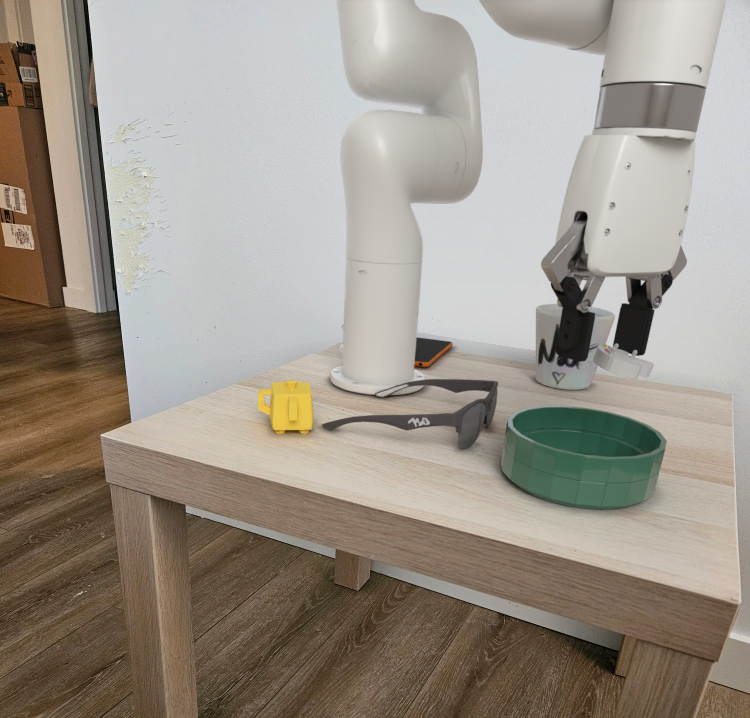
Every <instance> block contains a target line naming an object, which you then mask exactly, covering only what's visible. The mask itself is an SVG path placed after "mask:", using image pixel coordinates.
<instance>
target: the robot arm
mask: <svg viewBox="0 0 750 718" xmlns="http://www.w3.org/2000/svg"><path fill="white" fill-rule="evenodd" d="M478 1H479V3H480V5H481V6H482V7H483V9H484V10H485V12H486V13H487V15H488V16H489V17H490V19H491V20H492V21H493V22H494V23H495V24H496V25H497V26H498V27H499V28H500V29H502V30H503V31H504V32H506V33H507V34H509V35H511V36H512V37H515V38H516V39H521V40H525V41H528V42H535V43H539V44H545V45H549V46H555V47H559V48H564V49H567V50H570V51H574V52H575V51H576V52H580V53H585V54H589V55H590V54H591V55H596V56H603V63H602V69H601V74H600V75H601V76H600V80H599V81H600V82H599V88H598V93H597V100H596V104H595V105H596V106H595V112H594V118H593V123H592V131H591V134H589V135H584V136H583V138H582V141H581V142H580V146H579V148H578V151H577V154H576V156H575V160H574V163H573V166H572V169H571V172H570V175H569V179H568V182H567V187H566V191H565V194H564V198H563V203H562V207H561V212H560V217H559V222H558V227H557V232H556V236H555V242H554V245H553V247H552V248H551V249H550V250H549V251H548V252H547V253H546V254H545V255H544V257H543V258H542V259H541V262H540V267H541V269H542V271H543V273H544V274H545V277H546V278H547V280H548V281H549V282H550V288H551V289H552V291H553V293H554V294H555V295H556V304H558V306H559V307H562V308H563V309H562V315H561V321H560V327H559V333H558V339H557V345H556V354H557V355H560V356H563V357H566V358H569V359H572V360H575V361H578V362H583V361H586V359H587V358H588V353H589V348H590V342H591V337H592V332H593V326H594V321H595V313H593V312H589V310H590V309H591V307H593V304H594V302H595V300H596V298H597V297H598V294H599V292H600V289H601V288H602V286H603V284H604V281H605V279H606V278H617V277H618V278H619V277H622V278H623V277H625V285H626V298H627V303H626V302H625V303H623V302H622V303H621V304H620V308H619V314H618V318H617V323H616V327H615V328H616V329H615V332H614V337H613V343H612V347H614V344H616V343H617V344H618V345H619V347H618V348H617V349H620V350H624V351H626V352H628V355H632V352H633V351H634V350H637V355H636V356H637V357H641V356H644V355H645V354H646V351H647V346H648V343H649V337H650V333H651V329H652V324H653V319H654V315H655V311H656V309H659V308H660V306H661V305H662V303H663V297H664V295H665V294H666V293H667V291H668V290H669V289H670V288H671V287H672V285H673V282H674V280H675V279H677V277H678V276H679V275H680V274H681V273H682V271H683V270H684V269H685V267H686V266H687V263H688V259H687V256H686V254H685V252H684V249H683V246H682V242H683V238H684V233H685V227H686V223H687V218H688V213H689V207H690V202H691V201H690V199H691V195H692V194H691V193H692V188H693V187H692V186H693V178H694V170H695V157H696V142H695V141H696V138H697V137H696V136H697V132H698V127H699V124H700V119H701V114H702V109H703V105H704V101H705V97H706V91H707V88H708V84H709V78H710V74H711V70H712V66H713V63H714V56H715V52H716V48H717V43H718V39H719V34H720V30H721V26H722V21H723V17H724V12H725V8H726V3H727V0H478ZM336 8H337V9H336V10H337V18H338V19H337V20H338V27H339V38H340V46H341V55H342V63H343V71H344V75H345V79H346V83H347V85H348V87H349V89H350V91H351V92H352V93H353V94H354V95H355V96H356V97H358V98H359V99H362V100H365V101H368V102H372V103H376V104H382V105H388V106H389V105H390V106H398V107H407V108H414V109H419V110H420V112H412V111H404V110H396V109H395V110H394V109H372V110H368V111H365V112H362V113H360V114H358V115H356V116H355V117H354V118H352V120H350V122H349V123H348V124H347V125H346V127H345V129H344V131H343V134H342V136H341V141H340V146H339V163H340V171H341V178H342V185H343V194H344V202H345V204H344V205H345V265H344V266H345V269H344V270H345V271H344V273H345V274H344V301H343V303H344V305H343V306H344V307H343V336H342V343H341V344H340V345H339V346H338V352H339V353H340V354H342V364H341V365H339V366H336V367H334V368H332V369H331V371H330V377H329V379H330V382H331V383H332V385H334V386H336V387H337V388H340V389H342V390H345V391H348V392H352V393H357V394H361V395H362V394H363V395H372V396H375V395H374V394H375V393H377V392H380V391H382V390H385V389H388V388H391V387H394V386H397V385H400V384H403V383H407V382H412V381H418V380H426V376H425V375H424V373H422V372H421V371H420V370H417V369H415V366H414V364H415V351H416V338H417V337H418V336H417V335H418V325H419V312H420V310H419V309H420V298H421V286H422V275H423V274H422V273H423V257H424V240H423V234H422V229H421V227H420V225H419V223H418V220H417V218H416V215H415V213H414V210H413V208H412V206H411V204H412V205H413V204H423V205H425V204H427V205H429V204H430V205H452V204H457V203H460V202H462V201H464V200H466V199H467V198H468V197H469V196H471V195H472V193H473V192H474V191H475V189H476V187H477V186H478V183H479V181H480V179H481V178H480V177H481V173H482V169H483V160H484V143H483V127H482V126H483V125H482V112H481V98H480V97H481V96H480V82H479V70H478V59H477V52H476V49H475V45H474V42H473V40H472V37H471V36H470V34H469V32H468V30H467V29H466V27H464V25H463V24H462V23H460V22H459V21H458V20H457V19H454V18H452V17H449V16H447V15H444V14H440V13H439V14H438V13H435V12H430V11H425V10H423V9H421V8H420V7H419V6H418V5H417V4H416V2H415V0H336ZM583 281H585V284H584V286H583V288H582V289H581V283H582V282H583ZM642 281H643V283H642ZM636 356H635V357H636ZM424 387H425V385H421V386H412V387H407V388H404V389H401V390H399V391H397V392H395V393H393V394H391V395H390V396H399V395H406V394H411V393H415V392H418V391H421V389H423V388H424Z"/></svg>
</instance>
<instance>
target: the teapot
mask: <svg viewBox="0 0 750 718" xmlns="http://www.w3.org/2000/svg"><path fill="white" fill-rule="evenodd" d="M257 393H258V394H257V411H260V412H262V413H263V414H266V415H268V416H269V418H270V423H271V428H272V430H273V431H274V432H275V434H277V435H282V434H286V431H298V432H299V434H302V435H303V434H305V435H306V434H309V433H310V431H311V430H312V429H313V426H314V406H313V405H314V404H313V395H312V394H313V393H312V388H311V386H310V383H308V382H307V381H297V380H294V379H288V380H286V381H272V382H271V388H265V389H264V388H261V389H258V391H257ZM265 396H270V401H269V404H267V403H265Z"/></svg>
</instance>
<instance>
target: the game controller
mask: <svg viewBox="0 0 750 718" xmlns="http://www.w3.org/2000/svg"><path fill="white" fill-rule="evenodd" d="M618 347H619V345H618V344H617V343H616V344H614V347H613V346H611V345H608V344H607V343H606V344H602V345H599V346H598V348H597V350H596V353H595V355H594V358H593V361H587V362H595V363H596V364H597V365H598V366H597V367H600V368H601V369H602V370H604V371H606V372H609V373H611V374H614V375H618V376H620V377H625V378H627V379H632V380H637V379H638V377H643V378H649V377H650V374H651V372H652V370H653V368H654V366H655V363H654V362H651V361H649V360H646V359H642V358H639V357H636V355H637V350H634V351H633V352H632V354H631V355H630V354H629V353H628V352H626V351H624V350H620V349H617V348H618ZM561 358H562V357H561ZM559 359H560V358H559ZM521 360H523V361H524V358H523V359H522V358H521V359H518V361H521ZM526 360H528V361H530V359H529V358H527V359H526V358H525V361H526ZM516 361H517V359H516V360H512V361H511V363H512V362H516ZM557 361H558V360H557ZM555 363H556V362H555ZM552 364H554V363H552ZM534 365H536V362H534ZM539 365H542V364H539ZM545 365H549V364H545Z"/></svg>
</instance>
